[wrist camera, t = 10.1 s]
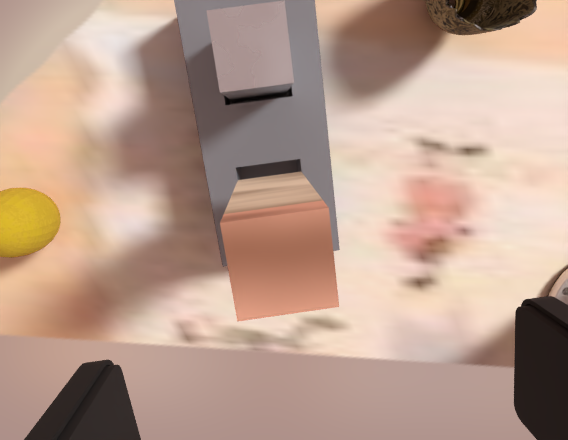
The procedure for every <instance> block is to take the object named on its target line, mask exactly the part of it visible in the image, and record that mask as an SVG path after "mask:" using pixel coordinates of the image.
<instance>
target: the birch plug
mask: <svg viewBox="0 0 568 440" xmlns="http://www.w3.org/2000/svg"><path fill="white" fill-rule="evenodd" d="M220 226H221V232H222V237H223V243H224V248H225V254H226V260H227V265H228V271H229V276H230V282H231V288H232V293H233V299H234V304H235V310H236V316H237V321H244V320H251V319H257V318H264V317H271V316H278V315H285V314H292V313H299V312H306V311H313V310H320V309H327V308H333V307H339V302H338V292H337V282H336V273H335V263H334V253H333V244H332V234H331V225H330V215H329V207H328V206H327V205H326V204H325V202H324V201H323V200H322V198H321V197H320V196H319V194H318V193H317V192H316V190H315V189H314V188H313V186H312V185H311V184H310V182H309V181H308V180H307V178H306V177H305V176H304V174H303V173H302V172H294V173H287V174H280V175H273V176H265V177H258V178H251V179H244V180H238V181H237V184H236V186H235V188H234V191H233V193H232V195H231V198H230V200H229V203H228V205H227V207H226V210H225V212H224V215H223V217H222V219H221V222H220Z"/></svg>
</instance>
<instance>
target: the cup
mask: <svg viewBox="0 0 568 440" xmlns="http://www.w3.org/2000/svg"><path fill="white" fill-rule="evenodd" d="M455 1H456V4H455V7H454V8H453V7H452V6H451V5H450V4H449V0H426V6H427V10H428V13H429V15H430V17H431V19H432V20H433V21H434V23H435V24H436V25H437V26H438V27H440V28H441V29H442V30H444V31H446V32H448V33H452V34H456V35H473V34H480V33H486V32H491V31H496V30H501V29H502V28H505V27H510V26H513V25H516V24H518V23H520V20H522V19H524V18H526V17H528V16H530V15H532V14H533V13H534V12H535V11H536V9H537V6H536V1H537V0H455Z"/></svg>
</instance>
